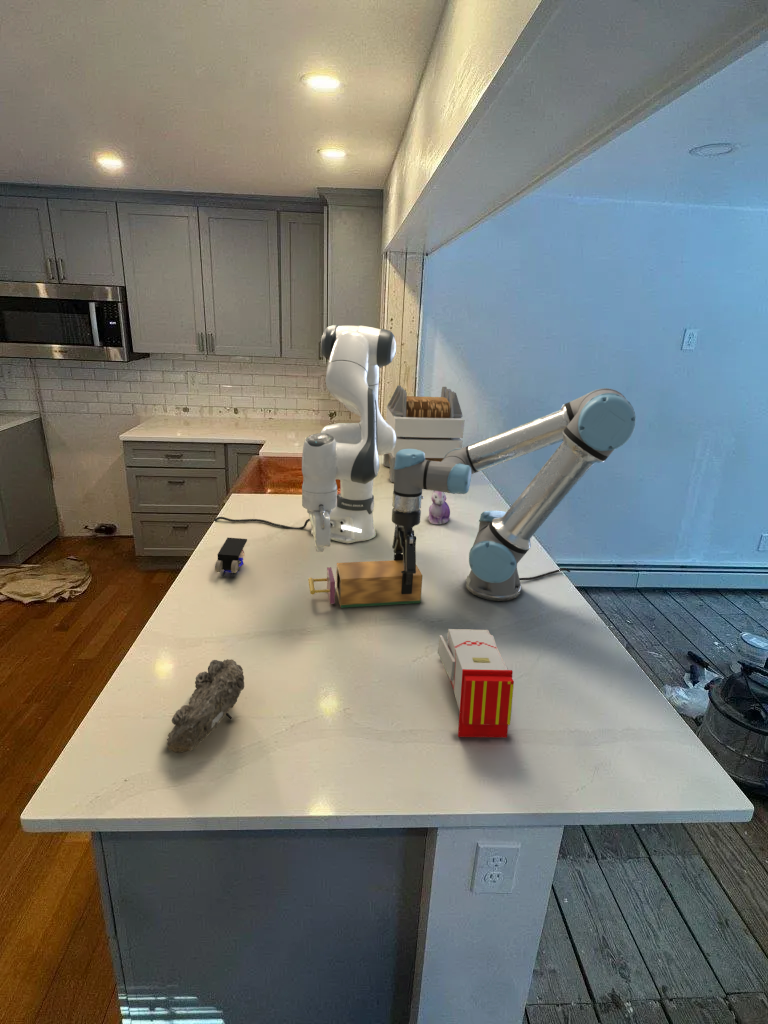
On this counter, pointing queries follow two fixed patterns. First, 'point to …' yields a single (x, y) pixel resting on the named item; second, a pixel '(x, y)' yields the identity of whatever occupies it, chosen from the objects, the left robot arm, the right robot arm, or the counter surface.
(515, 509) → the right robot arm
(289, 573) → the counter surface
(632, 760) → the counter surface
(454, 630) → the toy
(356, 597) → the wooden box
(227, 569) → the figurine character
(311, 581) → the drawer
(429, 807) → the counter surface
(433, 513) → the figurine
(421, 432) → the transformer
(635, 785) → the counter surface
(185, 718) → the fossil
